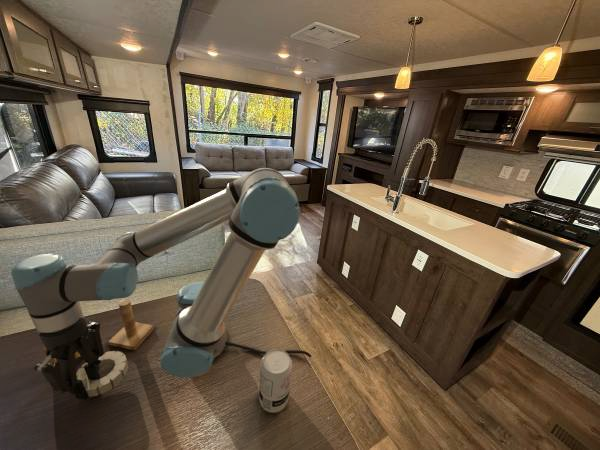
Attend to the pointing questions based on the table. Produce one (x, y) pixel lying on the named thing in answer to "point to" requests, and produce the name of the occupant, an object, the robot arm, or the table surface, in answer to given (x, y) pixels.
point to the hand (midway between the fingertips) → (89, 390)
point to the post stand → (130, 329)
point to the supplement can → (275, 380)
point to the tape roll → (108, 381)
